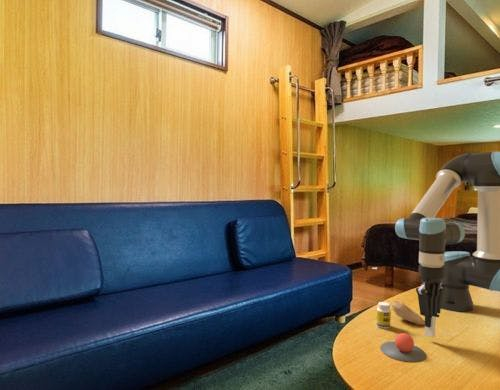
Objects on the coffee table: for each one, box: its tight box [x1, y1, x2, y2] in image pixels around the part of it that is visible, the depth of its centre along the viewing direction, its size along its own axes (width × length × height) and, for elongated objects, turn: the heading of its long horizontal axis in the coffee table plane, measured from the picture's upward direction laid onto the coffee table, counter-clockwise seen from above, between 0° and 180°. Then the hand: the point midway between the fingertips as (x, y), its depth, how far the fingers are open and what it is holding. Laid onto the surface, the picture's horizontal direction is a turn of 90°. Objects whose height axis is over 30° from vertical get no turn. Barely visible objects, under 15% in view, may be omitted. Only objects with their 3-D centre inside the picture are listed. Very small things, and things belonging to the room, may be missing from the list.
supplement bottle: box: [376, 301, 392, 330], centre depth 129 cm, size 5×5×8 cm
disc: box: [379, 341, 427, 363], centre depth 109 cm, size 13×13×1 cm
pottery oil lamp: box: [390, 300, 425, 326], centre depth 133 cm, size 9×12×7 cm
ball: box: [394, 332, 415, 352], centre depth 109 cm, size 6×6×6 cm
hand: (429, 335), depth 116 cm, fingers closed
